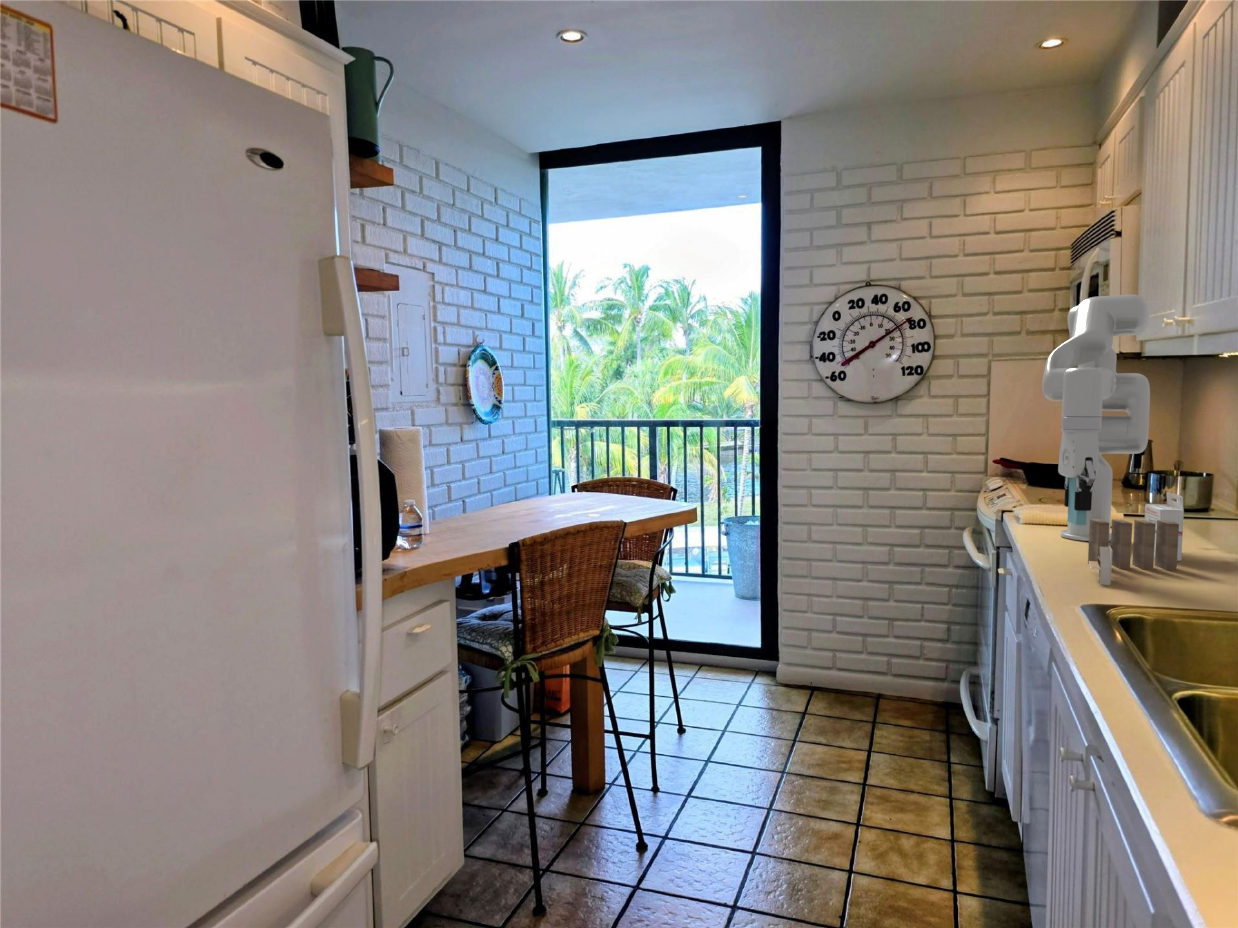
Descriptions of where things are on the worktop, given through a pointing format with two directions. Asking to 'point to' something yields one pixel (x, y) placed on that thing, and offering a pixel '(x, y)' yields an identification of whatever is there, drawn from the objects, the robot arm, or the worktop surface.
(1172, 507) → the ink cartridge box
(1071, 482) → the domino
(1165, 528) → the domino
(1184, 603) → the worktop surface
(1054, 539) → the worktop surface
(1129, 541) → the domino
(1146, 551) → the domino
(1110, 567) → the architectural model
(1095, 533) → the domino
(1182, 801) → the worktop surface
